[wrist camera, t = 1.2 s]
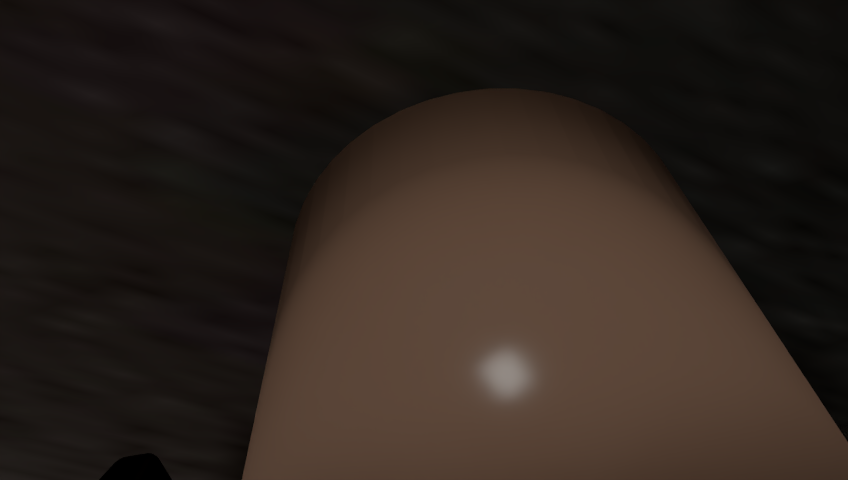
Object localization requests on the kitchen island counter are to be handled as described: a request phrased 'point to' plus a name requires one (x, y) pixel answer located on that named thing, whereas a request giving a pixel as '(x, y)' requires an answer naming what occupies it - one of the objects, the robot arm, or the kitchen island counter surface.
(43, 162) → the kitchen island counter surface
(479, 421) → the tan short cylinder
